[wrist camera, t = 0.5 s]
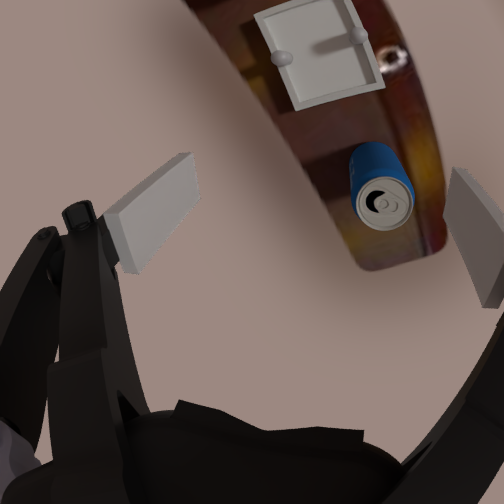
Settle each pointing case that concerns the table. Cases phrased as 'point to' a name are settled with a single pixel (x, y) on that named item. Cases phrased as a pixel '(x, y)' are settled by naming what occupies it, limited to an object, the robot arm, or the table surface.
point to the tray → (320, 50)
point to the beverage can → (379, 187)
